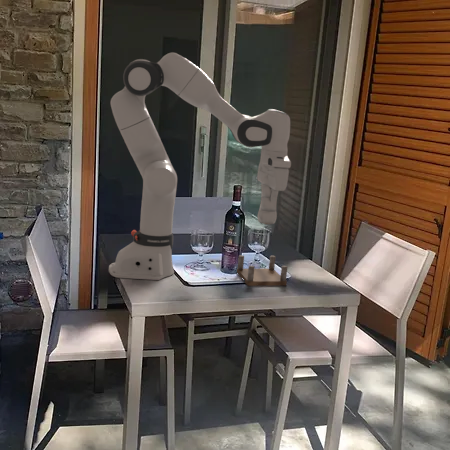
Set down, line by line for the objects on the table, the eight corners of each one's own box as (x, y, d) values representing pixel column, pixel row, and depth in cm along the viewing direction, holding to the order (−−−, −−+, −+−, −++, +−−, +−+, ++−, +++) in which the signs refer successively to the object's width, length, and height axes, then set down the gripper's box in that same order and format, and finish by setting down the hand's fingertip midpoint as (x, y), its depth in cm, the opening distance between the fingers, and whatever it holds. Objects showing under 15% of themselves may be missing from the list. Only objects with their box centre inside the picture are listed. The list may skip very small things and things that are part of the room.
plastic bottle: (274, 227, 195) (282, 168, 191) (255, 224, 196) (261, 166, 192) (276, 223, 201) (283, 166, 197) (257, 220, 202) (264, 164, 198)
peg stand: (247, 285, 195) (249, 267, 193) (236, 272, 208) (238, 255, 206) (286, 285, 199) (288, 267, 197) (272, 272, 212) (274, 255, 210)
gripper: (255, 154, 202) (251, 192, 206) (274, 162, 183) (270, 204, 187) (272, 155, 204) (267, 193, 207) (293, 163, 185) (288, 205, 188)
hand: (269, 199), depth 197 cm, fingers closed on plastic bottle, 6 cm apart
